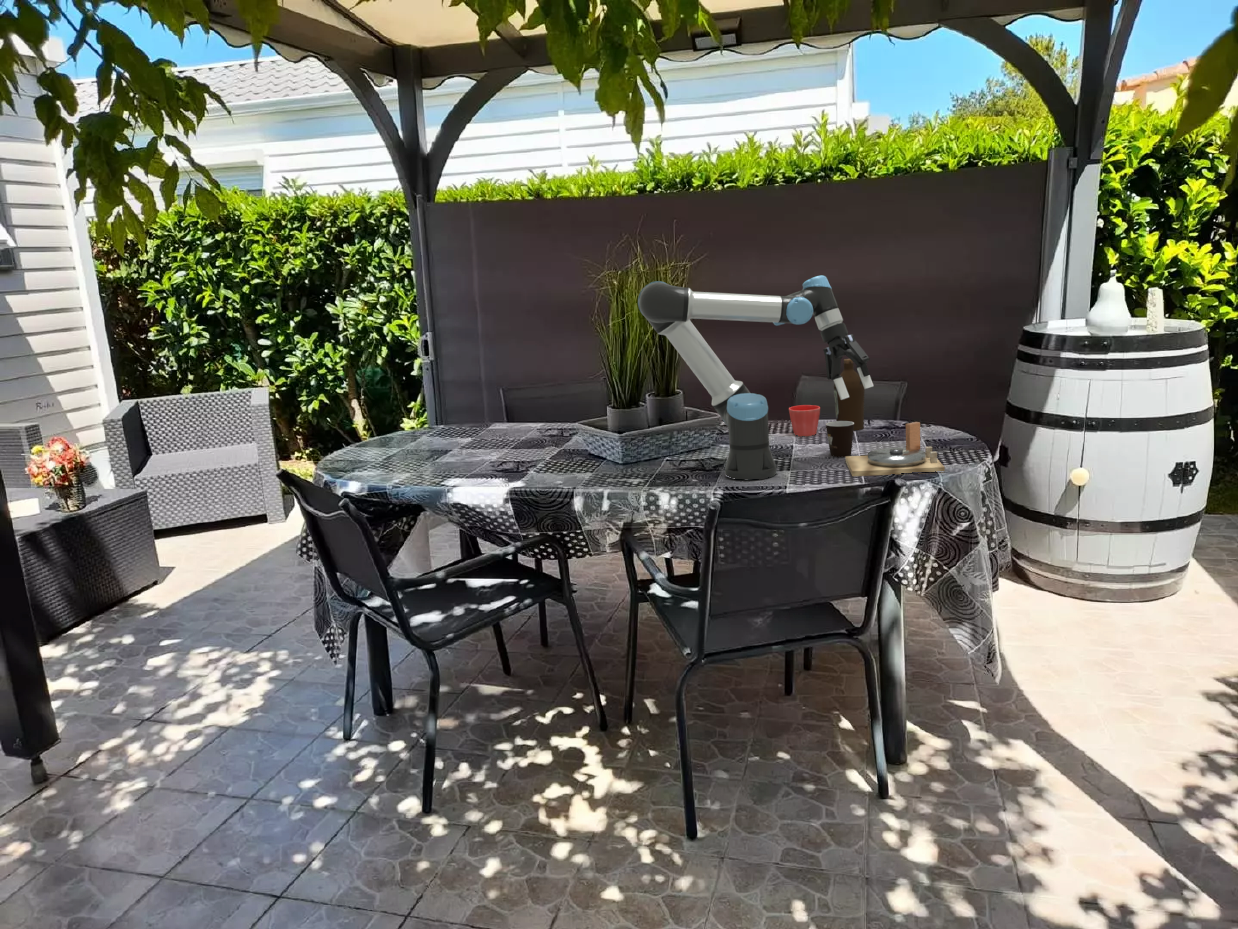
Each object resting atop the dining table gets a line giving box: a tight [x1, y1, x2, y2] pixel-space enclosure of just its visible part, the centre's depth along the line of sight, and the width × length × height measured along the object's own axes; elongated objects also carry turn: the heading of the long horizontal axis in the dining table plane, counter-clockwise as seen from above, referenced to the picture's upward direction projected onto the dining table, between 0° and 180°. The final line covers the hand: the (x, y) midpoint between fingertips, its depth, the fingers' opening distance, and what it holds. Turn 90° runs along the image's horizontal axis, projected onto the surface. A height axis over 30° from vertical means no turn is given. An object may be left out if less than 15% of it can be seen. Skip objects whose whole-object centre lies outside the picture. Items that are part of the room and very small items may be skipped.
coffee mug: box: [825, 420, 855, 458], centre depth 275 cm, size 12×9×10 cm
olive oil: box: [833, 358, 866, 432], centre depth 310 cm, size 11×11×25 cm
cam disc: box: [867, 421, 926, 467], centre depth 253 cm, size 16×16×10 cm
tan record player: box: [844, 446, 946, 477], centre depth 254 cm, size 25×19×4 cm
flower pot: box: [788, 404, 821, 437], centre depth 309 cm, size 11×11×10 cm
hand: (857, 393), depth 259 cm, fingers open, 13 cm apart
